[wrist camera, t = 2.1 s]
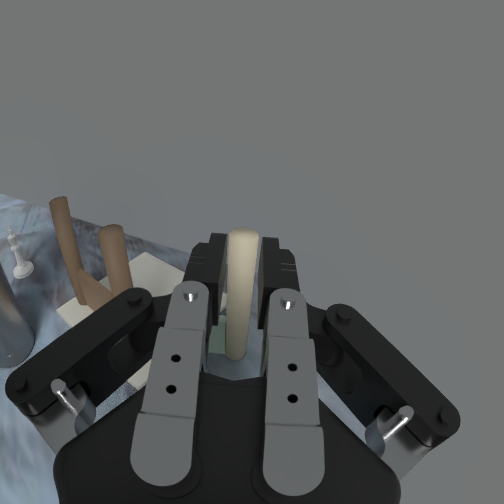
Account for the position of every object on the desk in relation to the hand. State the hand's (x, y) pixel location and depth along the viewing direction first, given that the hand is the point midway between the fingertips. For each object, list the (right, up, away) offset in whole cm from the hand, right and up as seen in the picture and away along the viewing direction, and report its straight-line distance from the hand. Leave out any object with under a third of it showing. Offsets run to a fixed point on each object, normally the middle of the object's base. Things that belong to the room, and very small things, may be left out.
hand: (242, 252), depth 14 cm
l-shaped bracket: (-7, -12, +22) cm, 26 cm away
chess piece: (-44, -4, +31) cm, 54 cm away
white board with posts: (-16, -8, +28) cm, 34 cm away
